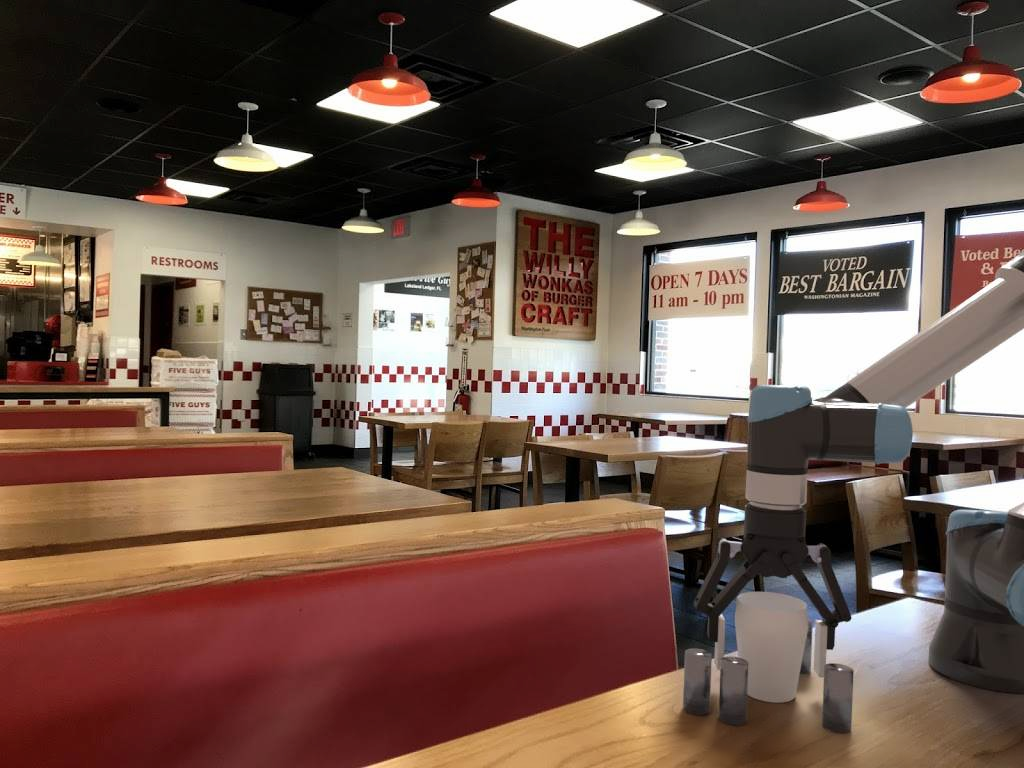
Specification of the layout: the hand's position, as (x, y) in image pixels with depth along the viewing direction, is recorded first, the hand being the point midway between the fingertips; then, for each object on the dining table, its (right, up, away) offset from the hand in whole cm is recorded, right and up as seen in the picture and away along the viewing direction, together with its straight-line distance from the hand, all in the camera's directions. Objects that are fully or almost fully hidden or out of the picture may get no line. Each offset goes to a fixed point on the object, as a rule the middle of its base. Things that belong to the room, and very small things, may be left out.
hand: (768, 669), depth 104 cm
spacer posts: (-2, -3, 0) cm, 4 cm away
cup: (0, -3, 0) cm, 3 cm away
